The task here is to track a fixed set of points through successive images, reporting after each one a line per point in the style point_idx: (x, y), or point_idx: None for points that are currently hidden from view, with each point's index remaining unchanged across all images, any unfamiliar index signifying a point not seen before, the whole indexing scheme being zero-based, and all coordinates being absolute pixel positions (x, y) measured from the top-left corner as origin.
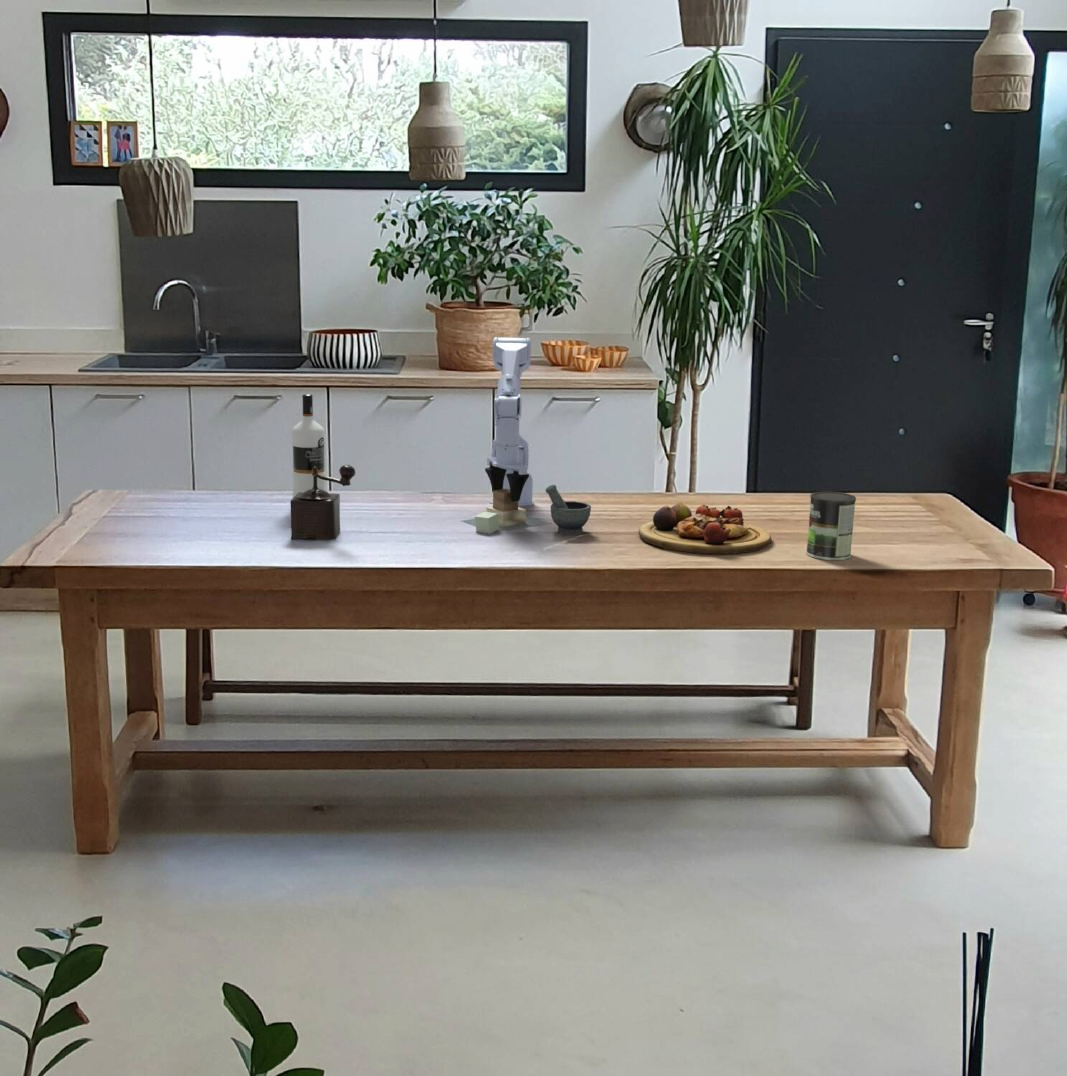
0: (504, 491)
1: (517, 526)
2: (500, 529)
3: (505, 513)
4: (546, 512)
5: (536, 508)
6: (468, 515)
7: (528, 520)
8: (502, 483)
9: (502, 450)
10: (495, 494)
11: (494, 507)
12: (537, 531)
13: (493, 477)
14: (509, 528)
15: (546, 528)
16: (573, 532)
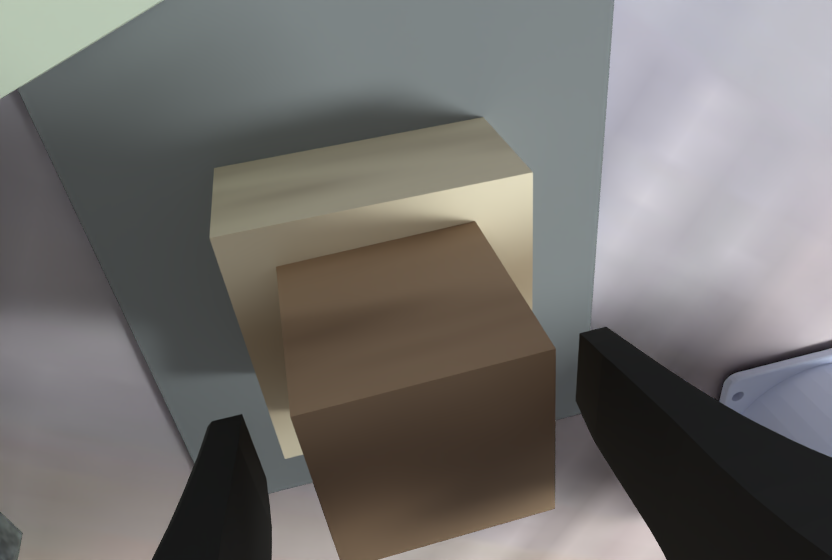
0: (421, 450)
1: (179, 286)
2: (86, 97)
3: (222, 263)
4: (520, 529)
5: (625, 506)
6: (767, 67)
7: None
8: (649, 516)
9: None
10: (482, 331)
11: (450, 233)
12: (3, 378)
13: (734, 508)
14: (114, 198)
15: (102, 453)
16: None
